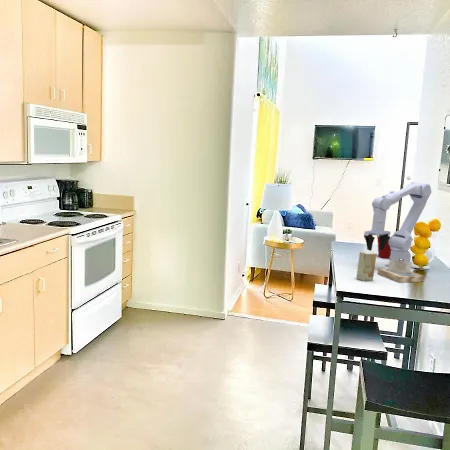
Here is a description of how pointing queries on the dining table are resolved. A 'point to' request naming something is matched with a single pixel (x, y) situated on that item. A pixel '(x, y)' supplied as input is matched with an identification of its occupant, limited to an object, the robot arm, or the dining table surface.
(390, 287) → the dining table surface
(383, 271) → the stand
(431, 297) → the dining table surface
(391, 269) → the housing
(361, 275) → the skincare box
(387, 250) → the plastic cup
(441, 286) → the dining table surface
